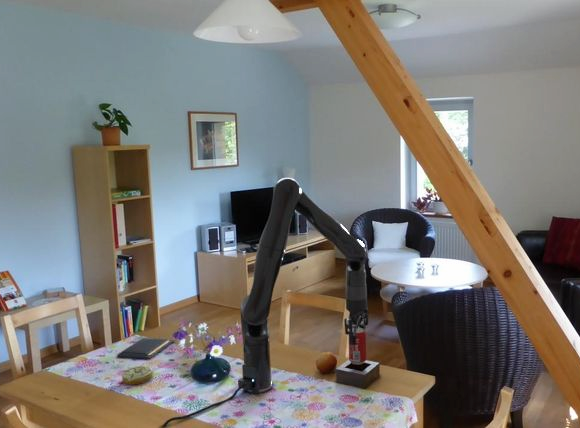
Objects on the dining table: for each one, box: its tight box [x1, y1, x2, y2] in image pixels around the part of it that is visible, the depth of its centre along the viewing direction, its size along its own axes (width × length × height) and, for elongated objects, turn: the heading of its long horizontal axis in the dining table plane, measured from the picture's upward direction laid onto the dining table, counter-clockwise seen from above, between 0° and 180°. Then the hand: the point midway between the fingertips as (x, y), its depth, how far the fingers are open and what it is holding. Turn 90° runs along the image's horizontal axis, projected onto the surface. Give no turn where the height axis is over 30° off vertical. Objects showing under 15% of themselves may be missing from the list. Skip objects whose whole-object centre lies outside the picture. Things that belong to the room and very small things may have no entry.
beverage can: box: [347, 327, 368, 365], centre depth 203 cm, size 6×6×12 cm
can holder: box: [335, 359, 381, 390], centre depth 205 cm, size 12×12×5 cm
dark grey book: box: [117, 337, 174, 360], centre depth 238 cm, size 20×2×15 cm
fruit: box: [315, 351, 338, 374], centre depth 212 cm, size 8×8×8 cm
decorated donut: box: [121, 364, 154, 385], centre depth 208 cm, size 10×11×4 cm
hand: (357, 341), depth 203 cm, fingers closed on beverage can, 6 cm apart
